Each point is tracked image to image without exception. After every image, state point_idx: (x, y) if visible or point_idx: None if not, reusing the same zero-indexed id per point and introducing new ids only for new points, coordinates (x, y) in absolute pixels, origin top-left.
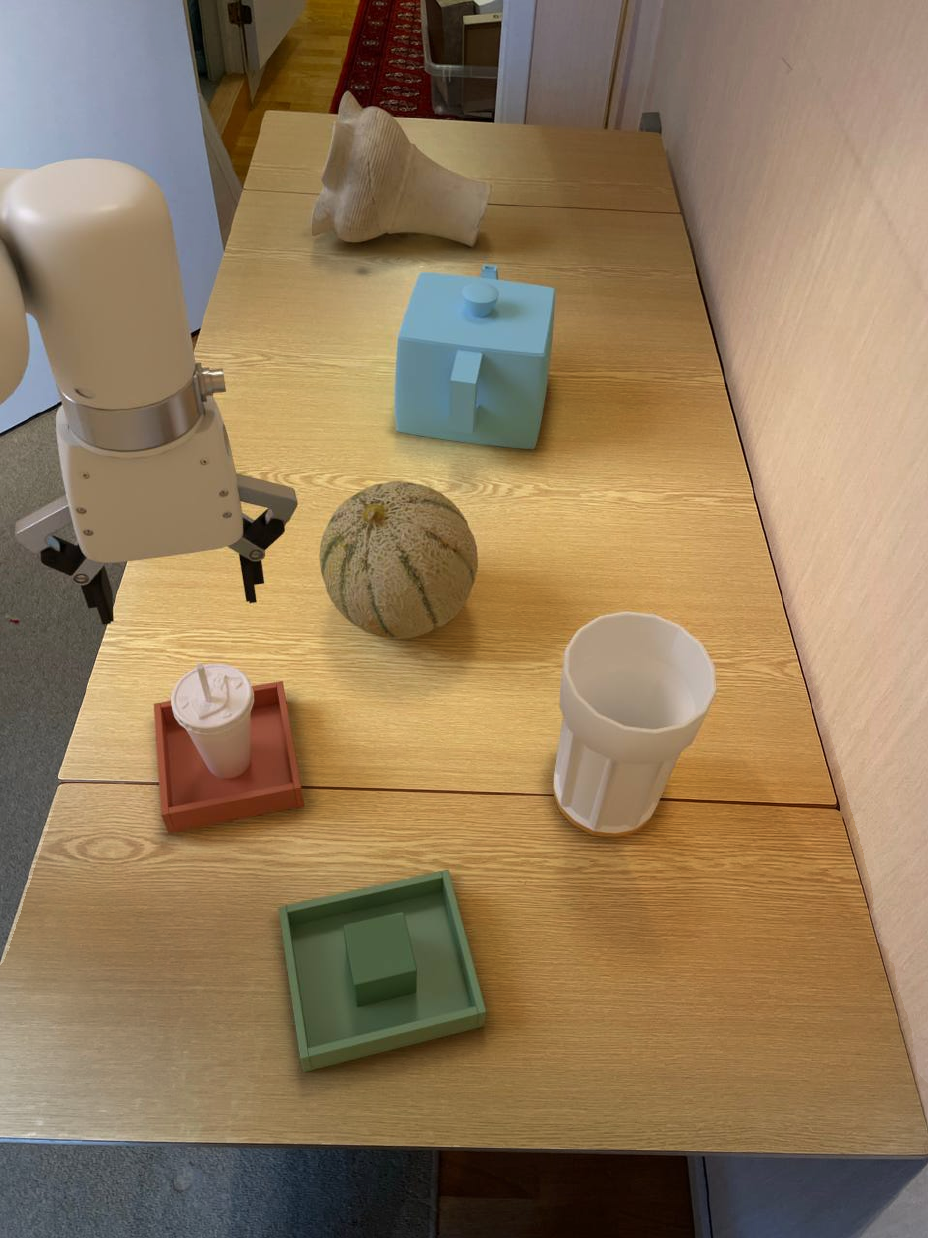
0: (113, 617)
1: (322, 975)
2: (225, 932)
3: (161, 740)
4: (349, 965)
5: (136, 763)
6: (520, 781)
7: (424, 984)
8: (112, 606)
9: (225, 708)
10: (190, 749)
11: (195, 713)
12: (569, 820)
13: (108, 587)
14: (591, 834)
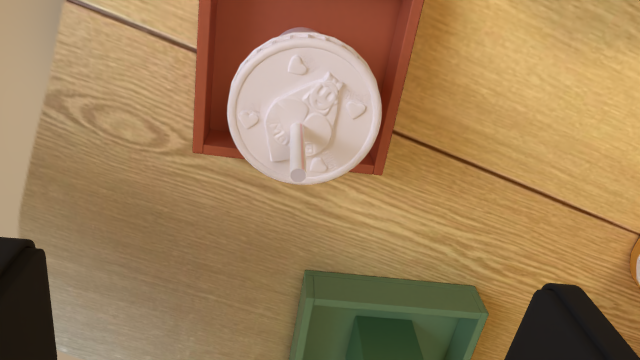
0: (55, 349)
1: (326, 327)
2: (246, 259)
3: (206, 26)
4: (353, 352)
5: (166, 3)
6: (620, 208)
7: None
8: (46, 328)
9: (321, 152)
10: (250, 18)
11: (267, 146)
12: (630, 267)
13: (7, 353)
14: (637, 285)
